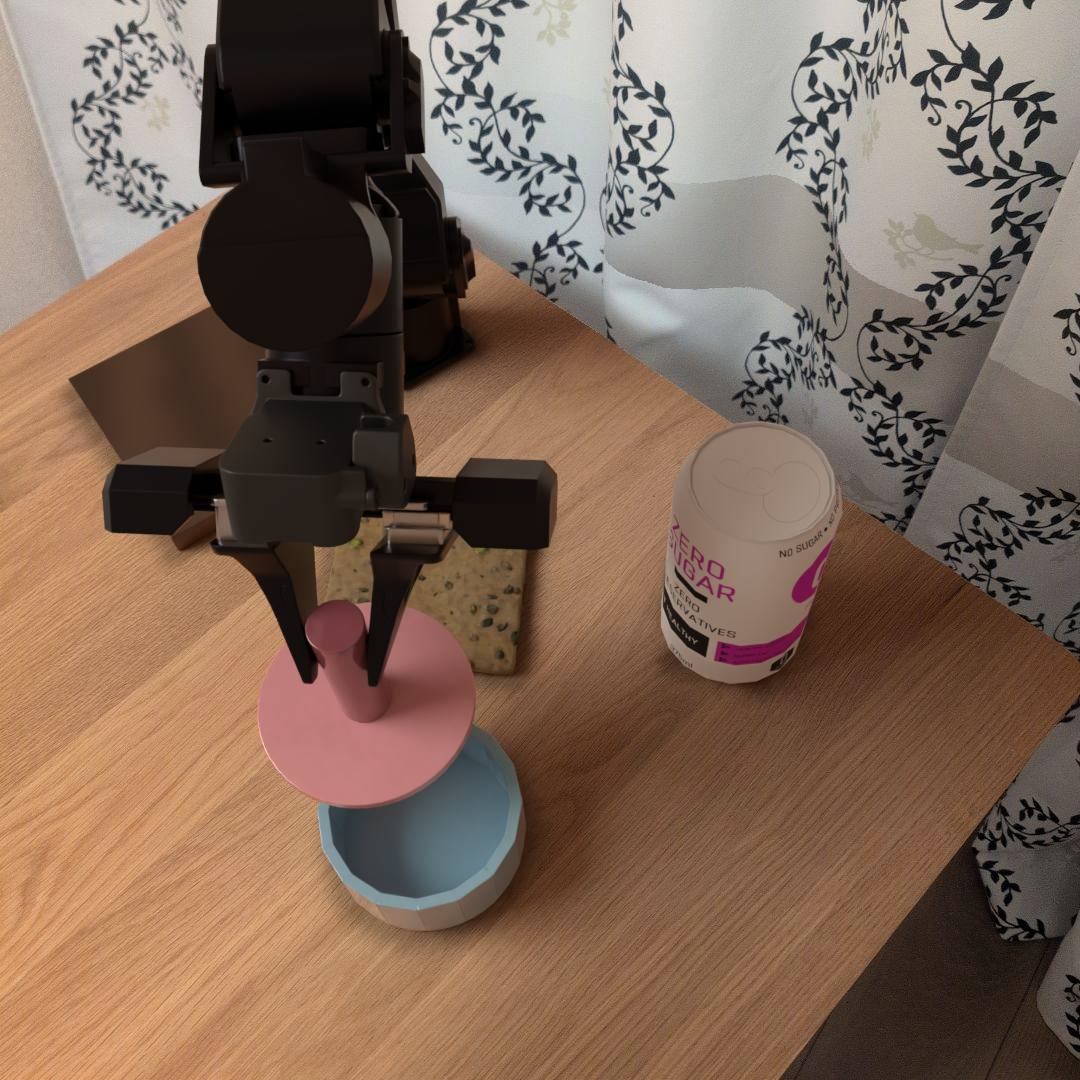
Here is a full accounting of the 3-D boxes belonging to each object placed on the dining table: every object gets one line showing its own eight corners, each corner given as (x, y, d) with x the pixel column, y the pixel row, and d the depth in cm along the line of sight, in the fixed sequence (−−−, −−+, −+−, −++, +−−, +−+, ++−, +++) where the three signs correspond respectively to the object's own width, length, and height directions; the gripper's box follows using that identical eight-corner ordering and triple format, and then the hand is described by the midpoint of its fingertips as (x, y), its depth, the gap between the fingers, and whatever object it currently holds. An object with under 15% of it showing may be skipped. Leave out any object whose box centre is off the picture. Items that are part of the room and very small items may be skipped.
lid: (424, 580, 61) (399, 484, 54) (514, 750, 56) (501, 672, 48) (233, 667, 59) (177, 581, 51) (308, 852, 54) (260, 788, 46)
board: (242, 306, 83) (237, 291, 81) (356, 449, 76) (352, 435, 74) (75, 392, 79) (67, 378, 78) (178, 551, 72) (171, 538, 71)
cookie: (345, 494, 74) (342, 486, 73) (534, 503, 73) (533, 495, 72) (310, 664, 67) (306, 657, 66) (516, 676, 66) (515, 669, 65)
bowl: (457, 710, 65) (448, 676, 62) (563, 853, 61) (561, 826, 57) (301, 814, 63) (282, 785, 59) (400, 972, 58) (386, 952, 54)
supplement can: (818, 593, 69) (869, 442, 56) (773, 710, 65) (816, 577, 52) (690, 546, 71) (710, 390, 58) (638, 658, 67) (649, 517, 54)
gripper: (18, 339, 41) (54, 746, 45) (543, 355, 39) (533, 773, 43) (146, 321, 52) (167, 650, 55) (562, 332, 50) (553, 668, 54)
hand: (342, 682), depth 52 cm, fingers closed on lid, 2 cm apart
